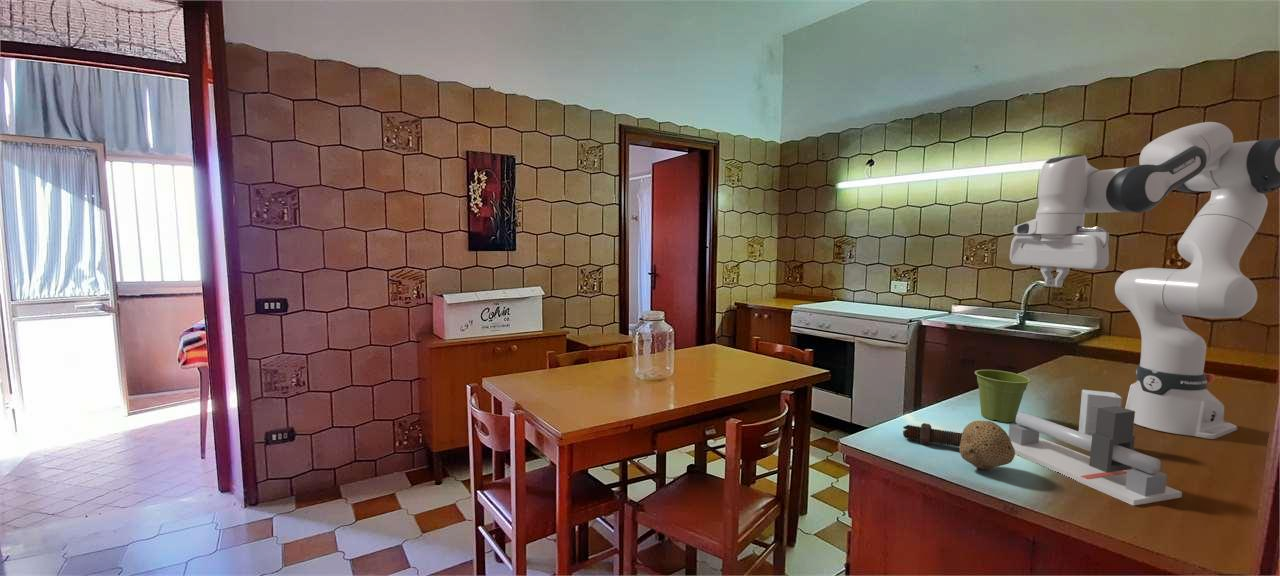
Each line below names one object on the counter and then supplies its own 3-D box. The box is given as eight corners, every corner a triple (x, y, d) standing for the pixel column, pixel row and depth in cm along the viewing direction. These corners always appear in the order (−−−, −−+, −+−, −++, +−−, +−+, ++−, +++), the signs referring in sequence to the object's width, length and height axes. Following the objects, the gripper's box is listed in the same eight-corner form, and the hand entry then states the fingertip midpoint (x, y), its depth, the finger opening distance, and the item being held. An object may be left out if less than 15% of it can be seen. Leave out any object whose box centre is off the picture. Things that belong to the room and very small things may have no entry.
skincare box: (1110, 443, 118) (1115, 392, 117) (1117, 450, 115) (1123, 397, 113) (1076, 439, 121) (1081, 388, 120) (1082, 445, 117) (1088, 394, 116)
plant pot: (1011, 429, 127) (1015, 384, 125) (961, 414, 137) (965, 372, 136) (1036, 421, 132) (1040, 378, 131) (986, 407, 143) (989, 367, 141)
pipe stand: (993, 444, 117) (996, 411, 116) (1034, 439, 120) (1037, 407, 119) (1133, 505, 91) (1137, 463, 90) (1181, 497, 94) (1186, 455, 94)
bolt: (903, 445, 121) (980, 459, 113) (901, 441, 118) (981, 455, 109) (905, 420, 123) (981, 432, 115) (903, 415, 120) (981, 427, 111)
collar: (1089, 465, 101) (1095, 408, 99) (1113, 462, 102) (1119, 405, 101) (1106, 472, 98) (1112, 413, 97) (1131, 468, 99) (1137, 410, 98)
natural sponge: (1021, 473, 103) (1025, 424, 102) (999, 484, 99) (1003, 433, 98) (972, 456, 111) (975, 411, 110) (949, 466, 106) (953, 419, 105)
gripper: (1120, 226, 111) (1113, 291, 112) (1027, 227, 130) (1022, 282, 132) (1098, 226, 109) (1091, 291, 111) (1007, 227, 129) (1002, 282, 130)
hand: (1053, 286), depth 121 cm, fingers closed
